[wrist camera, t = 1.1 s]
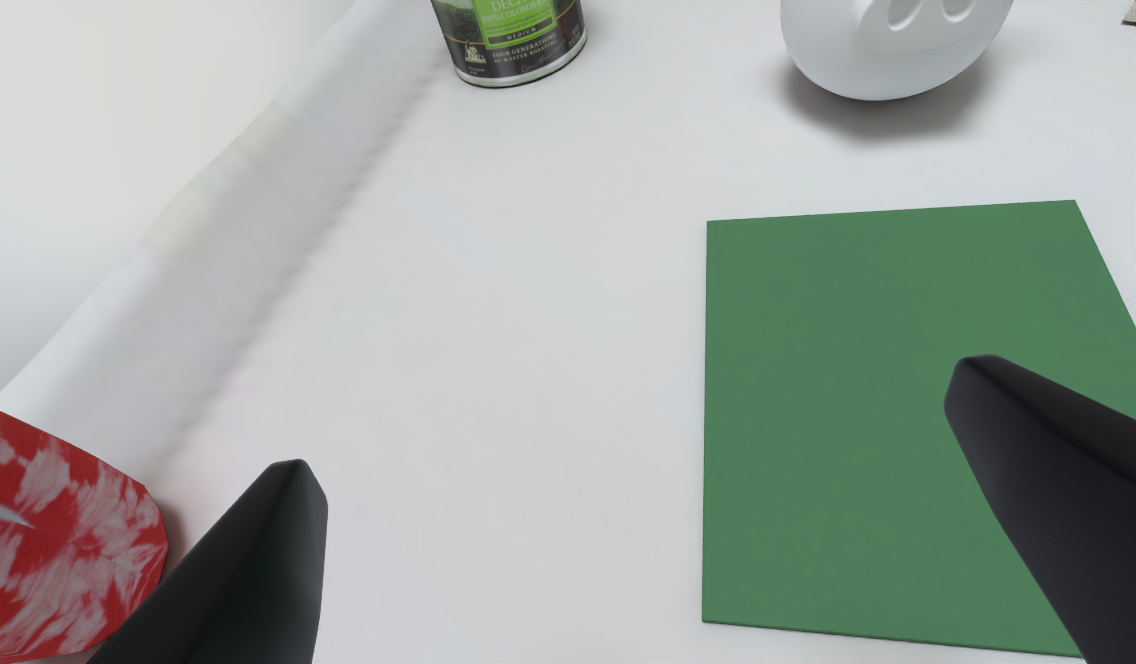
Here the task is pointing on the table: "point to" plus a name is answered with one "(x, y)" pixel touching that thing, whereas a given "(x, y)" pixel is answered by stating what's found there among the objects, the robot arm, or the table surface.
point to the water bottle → (69, 545)
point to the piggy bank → (888, 42)
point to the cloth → (886, 413)
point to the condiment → (1131, 14)
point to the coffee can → (510, 38)
